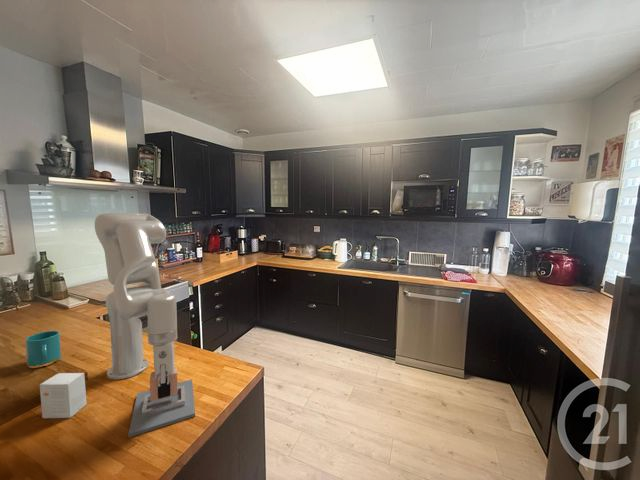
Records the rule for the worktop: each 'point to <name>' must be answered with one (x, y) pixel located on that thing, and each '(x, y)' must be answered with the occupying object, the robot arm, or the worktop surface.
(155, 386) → the key block
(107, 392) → the worktop surface
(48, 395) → the small box
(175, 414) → the nest board
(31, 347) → the cup
